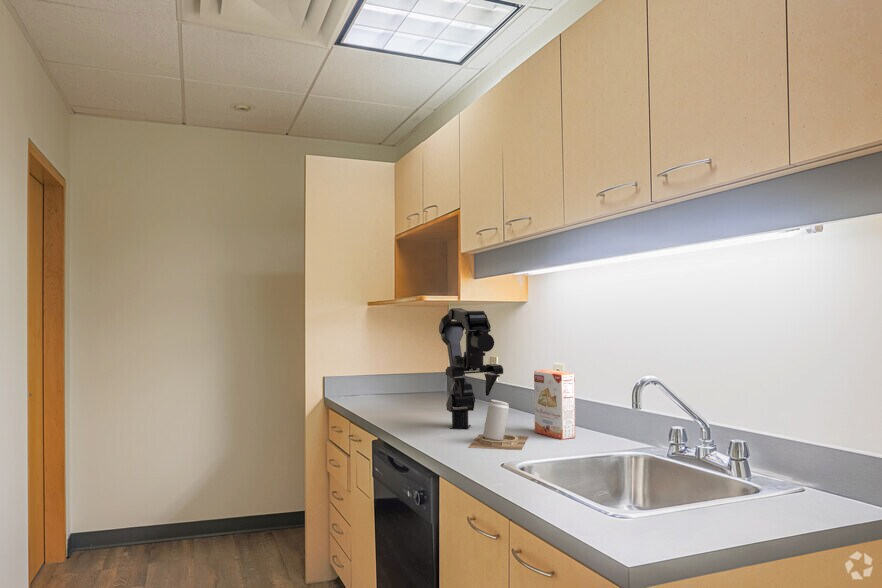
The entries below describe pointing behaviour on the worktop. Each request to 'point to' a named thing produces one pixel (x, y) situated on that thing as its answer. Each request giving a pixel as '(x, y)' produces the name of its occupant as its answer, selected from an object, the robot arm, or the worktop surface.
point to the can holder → (500, 442)
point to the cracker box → (554, 403)
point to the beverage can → (496, 420)
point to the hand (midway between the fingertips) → (474, 396)
